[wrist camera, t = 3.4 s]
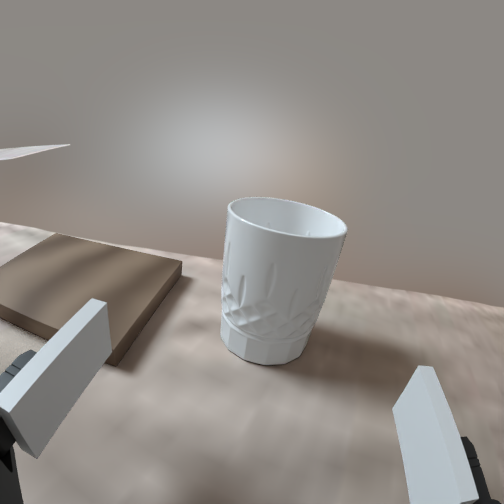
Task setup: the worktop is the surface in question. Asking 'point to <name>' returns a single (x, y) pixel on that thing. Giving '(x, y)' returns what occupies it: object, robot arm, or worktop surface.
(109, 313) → the board
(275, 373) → the worktop surface
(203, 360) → the worktop surface
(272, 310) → the white cup
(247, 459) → the worktop surface
